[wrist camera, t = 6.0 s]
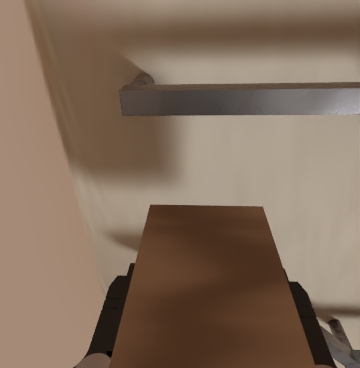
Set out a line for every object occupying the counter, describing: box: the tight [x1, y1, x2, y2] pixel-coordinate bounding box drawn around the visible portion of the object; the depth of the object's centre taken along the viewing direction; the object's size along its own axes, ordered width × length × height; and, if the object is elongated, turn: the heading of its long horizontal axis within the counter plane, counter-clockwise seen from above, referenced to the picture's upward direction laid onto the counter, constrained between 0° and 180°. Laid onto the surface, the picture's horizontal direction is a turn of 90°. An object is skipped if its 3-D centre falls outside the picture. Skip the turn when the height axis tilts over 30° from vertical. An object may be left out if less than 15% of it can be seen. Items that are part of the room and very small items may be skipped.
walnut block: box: [109, 205, 316, 368], centre depth 10 cm, size 5×5×8 cm
